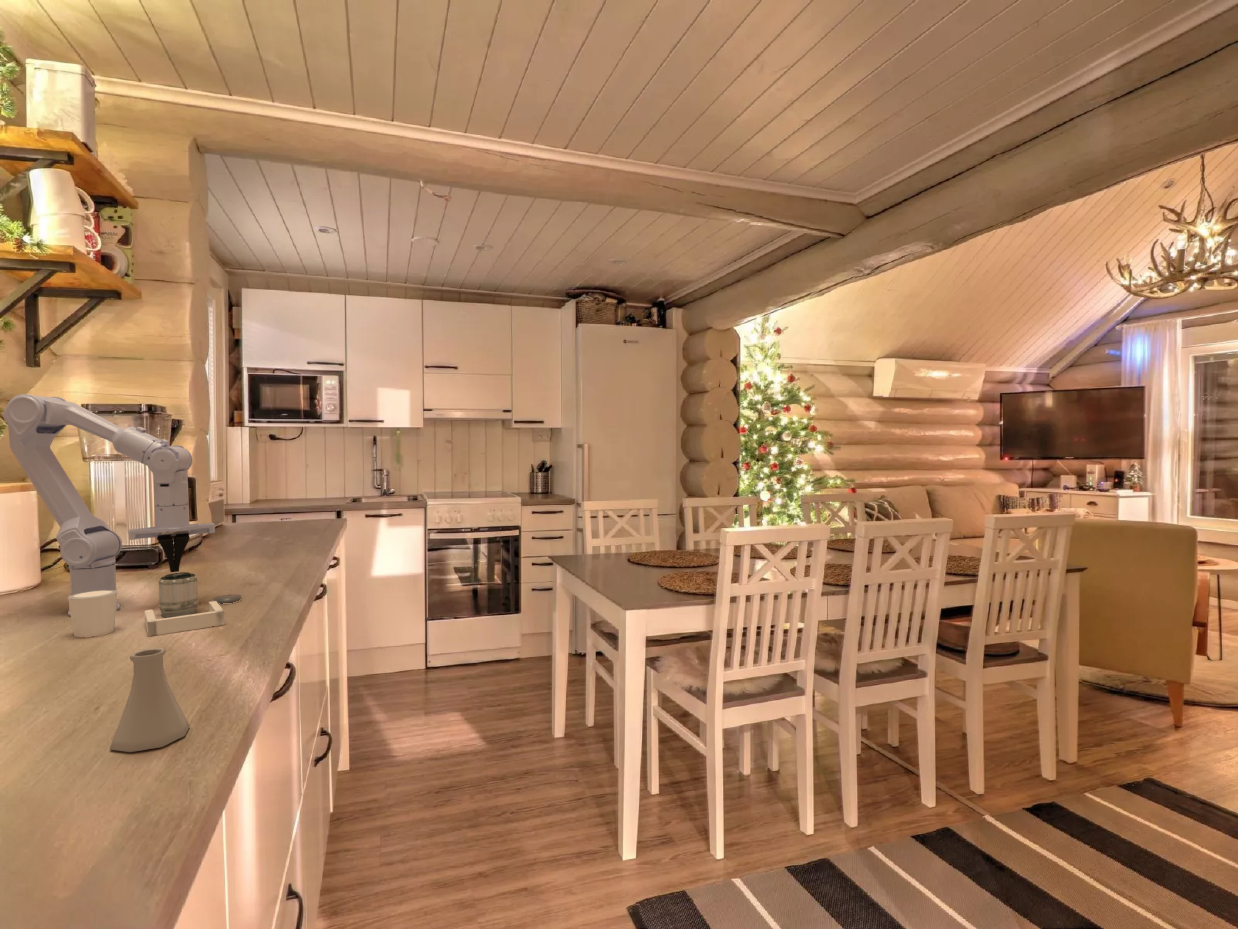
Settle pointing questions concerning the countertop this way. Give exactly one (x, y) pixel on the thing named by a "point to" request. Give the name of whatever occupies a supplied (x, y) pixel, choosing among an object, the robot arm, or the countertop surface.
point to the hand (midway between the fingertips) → (174, 571)
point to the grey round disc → (227, 598)
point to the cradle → (184, 621)
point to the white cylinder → (93, 612)
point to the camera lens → (178, 594)
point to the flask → (149, 707)
